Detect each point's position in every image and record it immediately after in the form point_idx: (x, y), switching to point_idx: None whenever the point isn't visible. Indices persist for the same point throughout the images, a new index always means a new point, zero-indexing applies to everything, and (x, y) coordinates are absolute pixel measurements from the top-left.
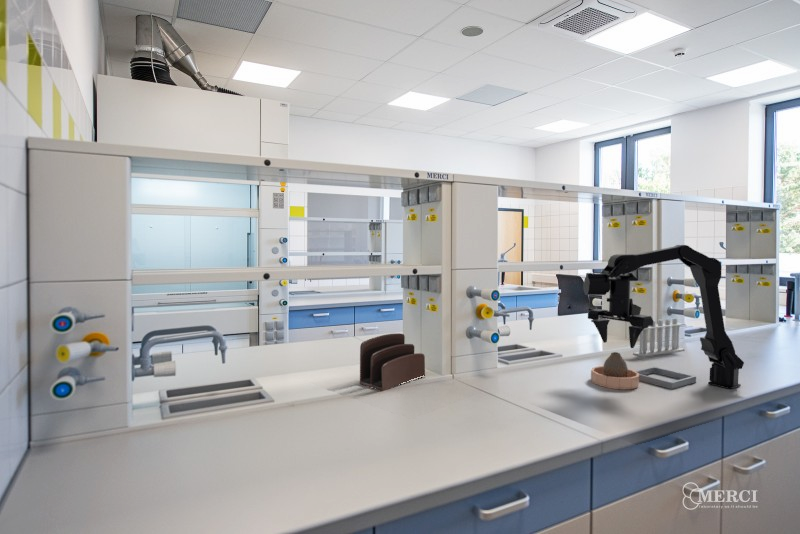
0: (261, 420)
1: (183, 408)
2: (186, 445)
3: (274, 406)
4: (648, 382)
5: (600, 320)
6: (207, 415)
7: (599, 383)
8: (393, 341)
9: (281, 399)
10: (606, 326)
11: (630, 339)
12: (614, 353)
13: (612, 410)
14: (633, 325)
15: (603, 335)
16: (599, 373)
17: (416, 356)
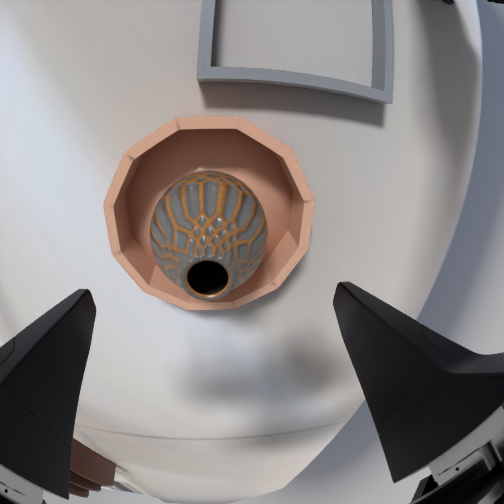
0: (162, 490)
1: (128, 490)
2: (185, 497)
3: (137, 485)
4: (290, 85)
5: (32, 487)
6: (144, 491)
7: None
8: None
9: (123, 481)
10: (16, 395)
11: (364, 373)
12: (183, 256)
13: (329, 374)
14: (431, 477)
15: (81, 368)
16: (124, 206)
17: (73, 467)
